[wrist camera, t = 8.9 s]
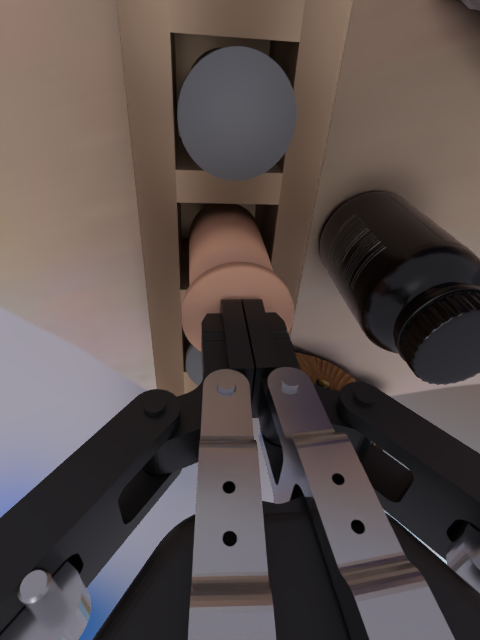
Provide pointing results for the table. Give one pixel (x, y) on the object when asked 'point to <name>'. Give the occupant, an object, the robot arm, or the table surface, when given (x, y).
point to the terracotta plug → (229, 268)
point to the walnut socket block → (189, 178)
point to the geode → (472, 4)
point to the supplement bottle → (407, 284)
